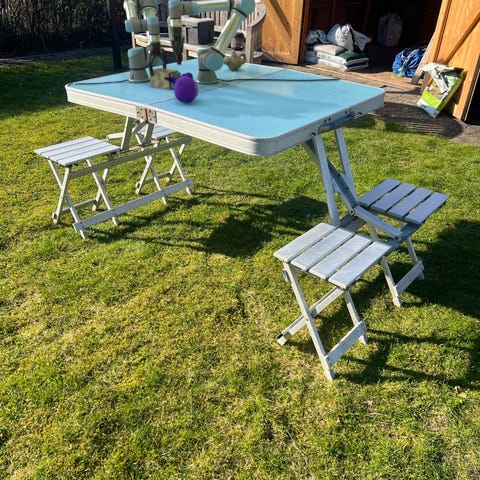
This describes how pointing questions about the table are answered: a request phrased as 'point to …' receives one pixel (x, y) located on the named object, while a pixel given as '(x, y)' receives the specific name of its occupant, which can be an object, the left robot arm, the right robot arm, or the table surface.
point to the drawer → (176, 75)
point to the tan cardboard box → (161, 78)
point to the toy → (184, 87)
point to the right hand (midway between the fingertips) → (179, 64)
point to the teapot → (235, 61)
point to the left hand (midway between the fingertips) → (158, 74)
